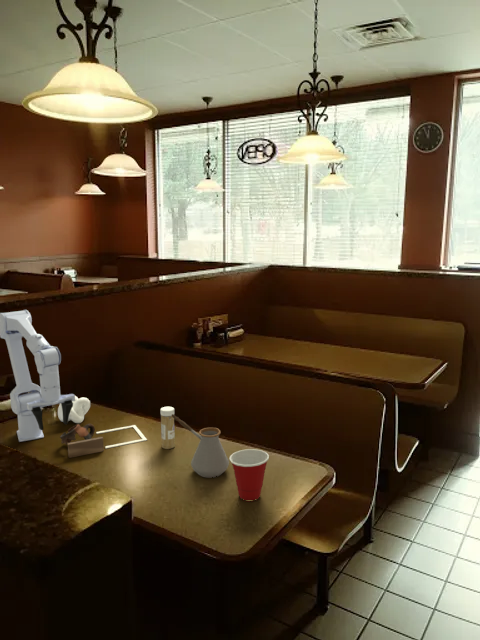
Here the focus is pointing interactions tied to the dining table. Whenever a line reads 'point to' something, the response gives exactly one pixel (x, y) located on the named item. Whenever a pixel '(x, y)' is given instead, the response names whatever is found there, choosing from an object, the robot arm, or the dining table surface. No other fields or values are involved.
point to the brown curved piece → (79, 430)
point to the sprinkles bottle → (167, 427)
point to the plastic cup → (249, 472)
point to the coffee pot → (207, 452)
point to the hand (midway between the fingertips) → (53, 426)
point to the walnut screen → (85, 447)
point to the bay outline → (125, 442)
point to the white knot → (76, 410)
